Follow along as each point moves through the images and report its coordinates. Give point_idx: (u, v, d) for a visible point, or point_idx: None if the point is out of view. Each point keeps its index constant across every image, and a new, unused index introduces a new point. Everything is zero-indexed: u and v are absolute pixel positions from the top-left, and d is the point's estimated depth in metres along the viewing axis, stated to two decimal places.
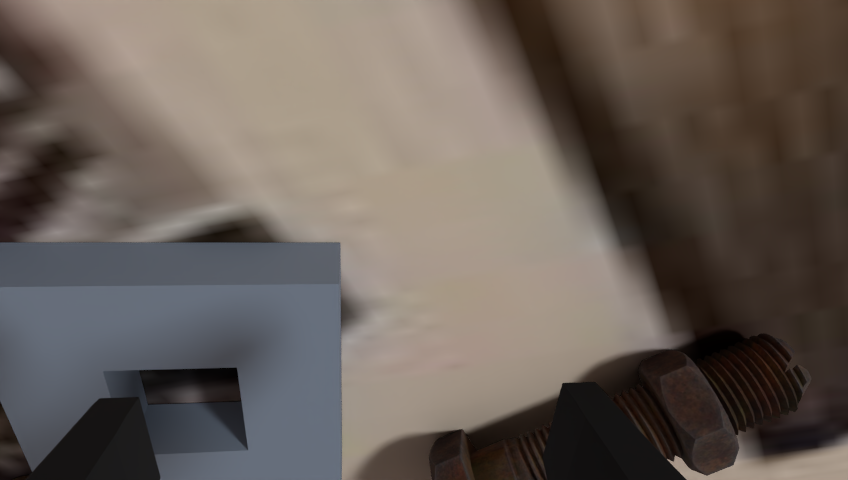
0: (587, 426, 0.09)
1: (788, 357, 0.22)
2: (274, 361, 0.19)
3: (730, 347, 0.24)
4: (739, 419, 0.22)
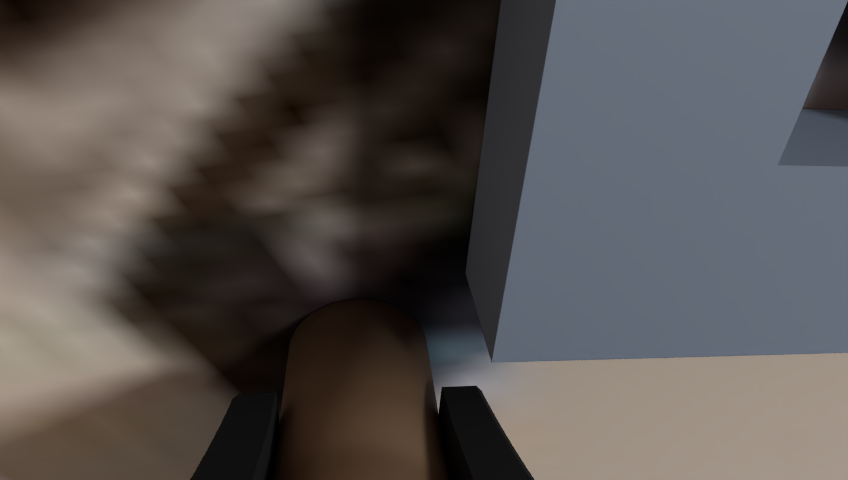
0: (453, 432, 0.09)
1: None
2: None
3: None
4: None
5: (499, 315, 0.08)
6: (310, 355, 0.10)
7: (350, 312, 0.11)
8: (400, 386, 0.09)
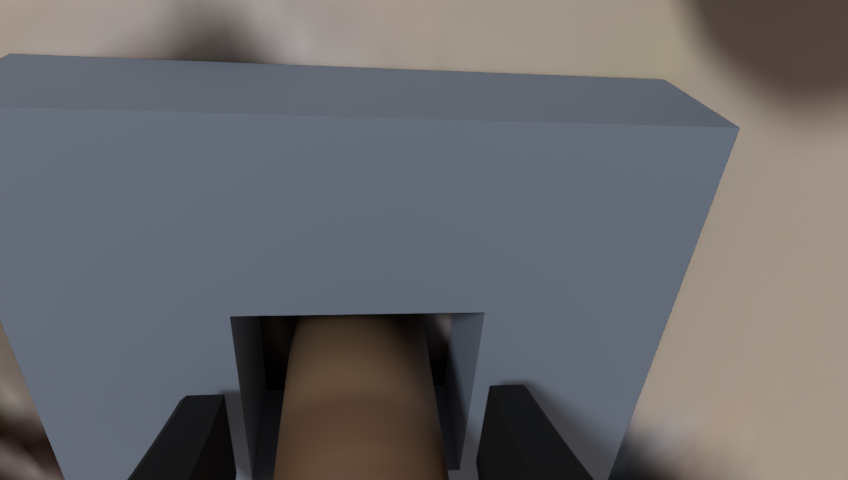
0: (506, 430, 0.09)
1: None
2: (205, 251, 0.09)
3: None
4: None
5: None
6: (313, 318, 0.11)
7: None
8: (394, 342, 0.10)
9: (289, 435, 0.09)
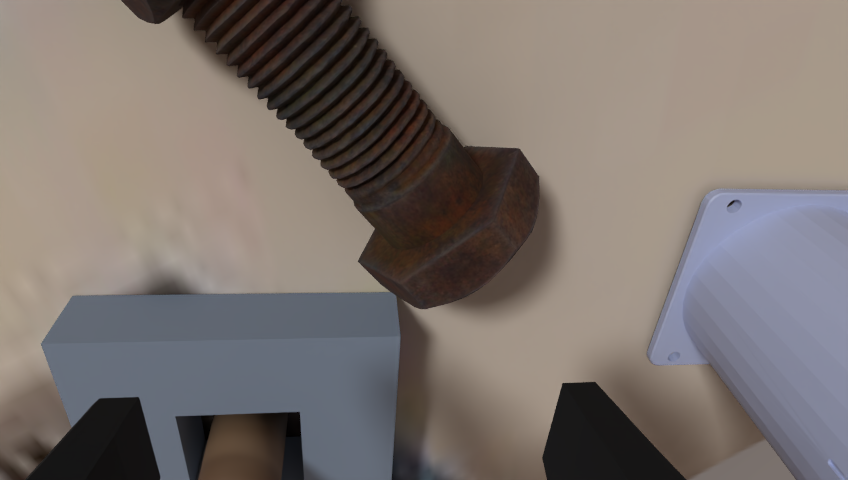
0: (587, 426, 0.09)
1: None
2: (162, 390, 0.19)
3: None
4: None
5: None
6: None
7: None
8: (260, 424, 0.21)
9: (202, 472, 0.20)
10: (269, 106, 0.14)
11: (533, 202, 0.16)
